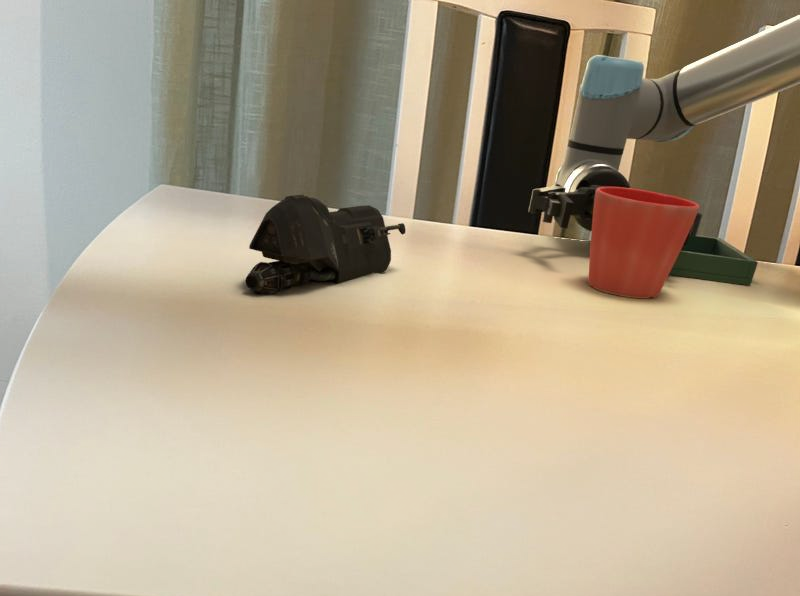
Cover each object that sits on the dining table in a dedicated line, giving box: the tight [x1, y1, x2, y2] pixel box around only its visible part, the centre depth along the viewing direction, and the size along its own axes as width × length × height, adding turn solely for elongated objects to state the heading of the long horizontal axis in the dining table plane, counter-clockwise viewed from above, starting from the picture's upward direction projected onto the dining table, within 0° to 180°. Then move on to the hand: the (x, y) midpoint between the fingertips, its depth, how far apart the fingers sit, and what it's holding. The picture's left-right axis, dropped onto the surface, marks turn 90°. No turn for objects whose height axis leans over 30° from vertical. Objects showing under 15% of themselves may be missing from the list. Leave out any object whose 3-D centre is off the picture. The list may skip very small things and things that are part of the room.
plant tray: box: [668, 234, 759, 287], centre depth 129 cm, size 17×17×3 cm
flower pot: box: [587, 187, 700, 299], centre depth 108 cm, size 11×11×10 cm
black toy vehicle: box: [245, 194, 406, 295], centre depth 95 cm, size 7×25×8 cm, turn 152°
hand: (627, 224), depth 113 cm, fingers open, 13 cm apart
